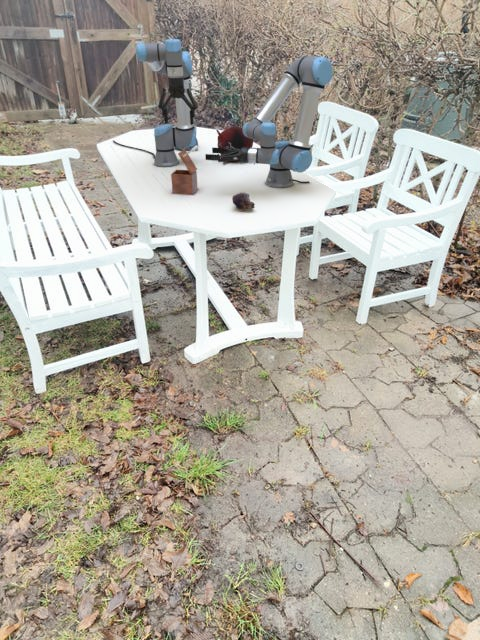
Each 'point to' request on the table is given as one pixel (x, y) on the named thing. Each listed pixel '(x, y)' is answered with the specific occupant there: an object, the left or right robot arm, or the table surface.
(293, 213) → the table surface
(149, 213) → the table surface
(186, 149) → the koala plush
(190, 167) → the lid
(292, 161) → the right robot arm
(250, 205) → the rock
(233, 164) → the table surface
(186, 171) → the chest
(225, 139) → the decorative skull
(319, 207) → the table surface
